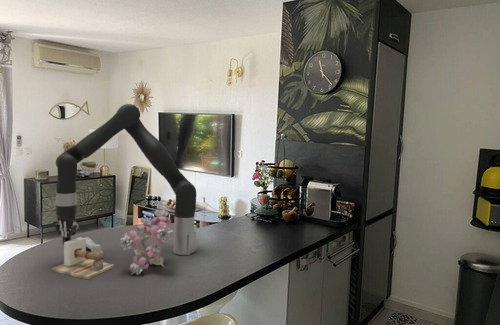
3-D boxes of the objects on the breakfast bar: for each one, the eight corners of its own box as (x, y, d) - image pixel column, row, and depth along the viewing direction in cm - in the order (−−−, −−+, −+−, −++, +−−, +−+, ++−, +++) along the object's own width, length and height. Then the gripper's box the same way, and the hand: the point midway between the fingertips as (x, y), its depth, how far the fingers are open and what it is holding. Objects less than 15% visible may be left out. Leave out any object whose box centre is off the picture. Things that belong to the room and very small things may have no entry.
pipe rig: (113, 266, 148) (114, 249, 148) (87, 279, 135) (87, 260, 135) (80, 259, 155) (80, 242, 154) (51, 270, 142) (51, 252, 141)
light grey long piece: (91, 235, 176) (104, 243, 156) (91, 249, 176) (104, 258, 156) (79, 237, 173) (91, 244, 153) (79, 251, 173) (91, 260, 153)
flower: (110, 257, 155) (112, 211, 142) (160, 244, 167) (166, 201, 155) (125, 293, 141) (128, 246, 129) (178, 275, 154) (186, 231, 142)
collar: (85, 259, 150) (85, 238, 149) (69, 265, 142) (69, 243, 141) (80, 258, 151) (80, 237, 150) (64, 264, 143) (63, 242, 143)
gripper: (86, 203, 147) (86, 245, 149) (62, 200, 152) (62, 240, 154) (71, 207, 140) (71, 250, 142) (46, 203, 145) (46, 245, 147)
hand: (66, 245), depth 148 cm, fingers closed
